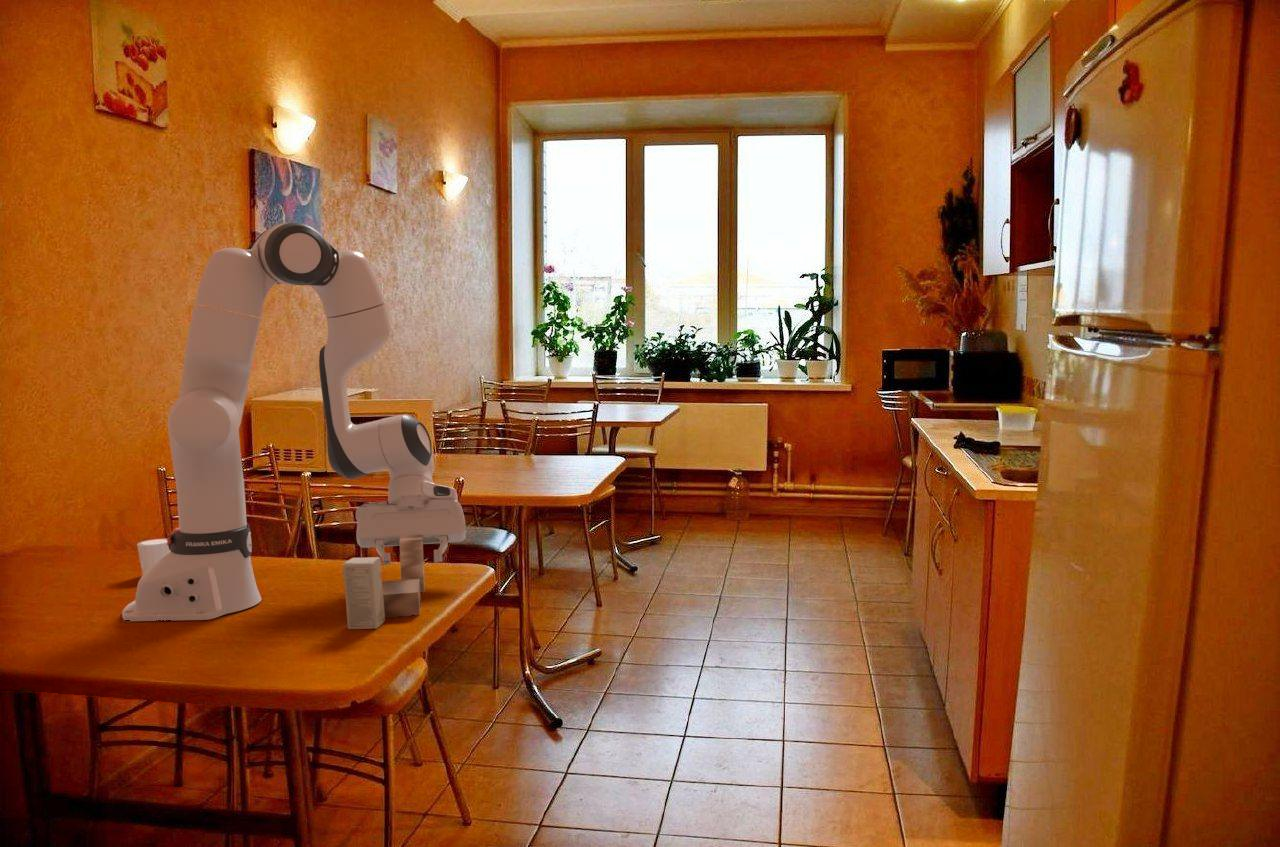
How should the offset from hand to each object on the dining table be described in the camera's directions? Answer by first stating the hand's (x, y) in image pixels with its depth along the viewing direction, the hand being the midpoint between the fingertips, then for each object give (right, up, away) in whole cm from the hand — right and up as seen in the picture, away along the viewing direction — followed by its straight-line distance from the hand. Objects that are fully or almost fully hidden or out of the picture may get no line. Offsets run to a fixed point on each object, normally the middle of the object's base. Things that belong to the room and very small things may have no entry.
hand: (412, 561), depth 185 cm
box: (-3, -8, -20) cm, 21 cm away
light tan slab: (-1, -7, -11) cm, 13 cm away
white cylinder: (-55, -5, +16) cm, 57 cm away
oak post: (0, -5, +1) cm, 6 cm away
